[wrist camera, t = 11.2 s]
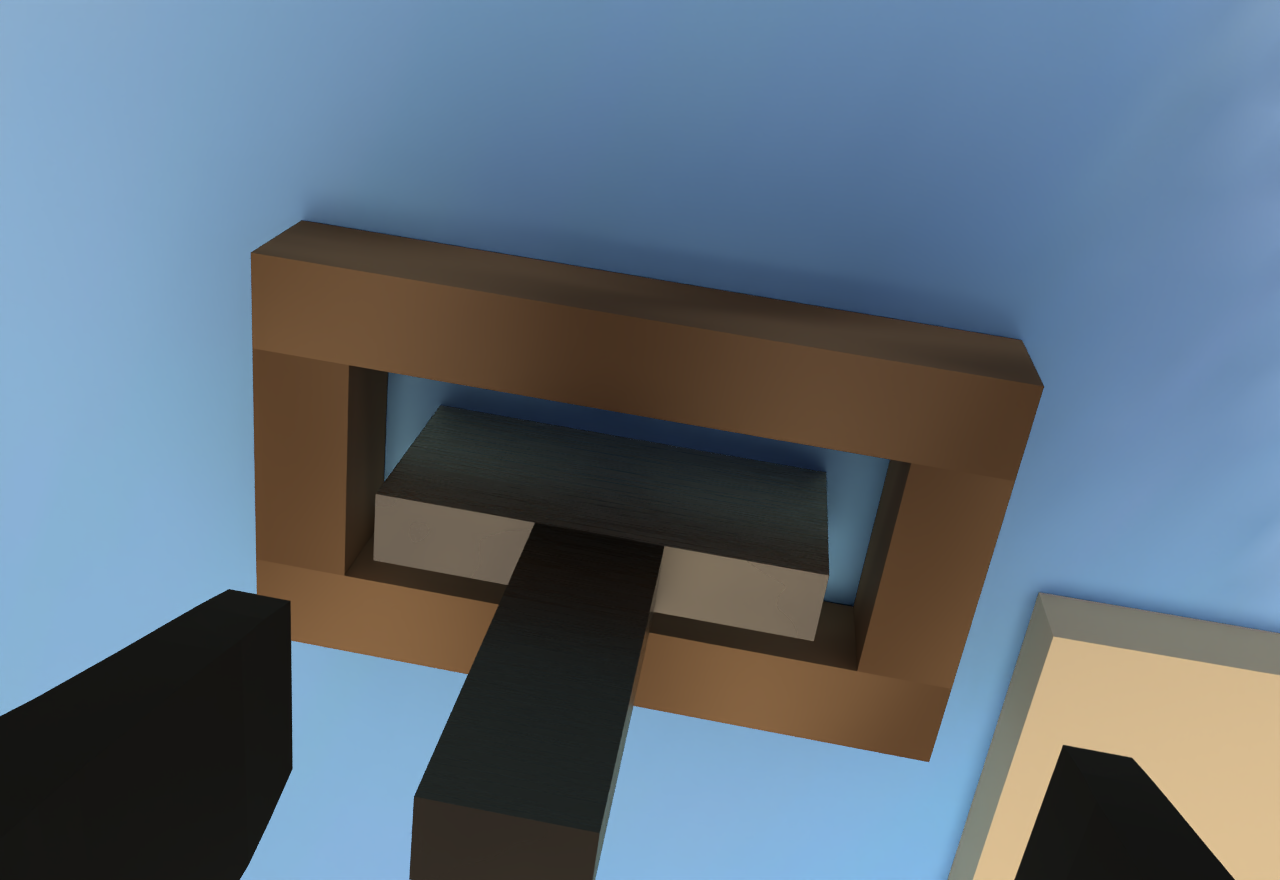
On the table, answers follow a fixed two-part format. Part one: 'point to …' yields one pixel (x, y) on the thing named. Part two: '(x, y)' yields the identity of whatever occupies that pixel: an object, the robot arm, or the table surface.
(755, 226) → the table surface
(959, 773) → the table surface
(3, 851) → the robot arm
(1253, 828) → the tile
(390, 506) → the turner
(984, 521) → the frame
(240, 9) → the table surface
